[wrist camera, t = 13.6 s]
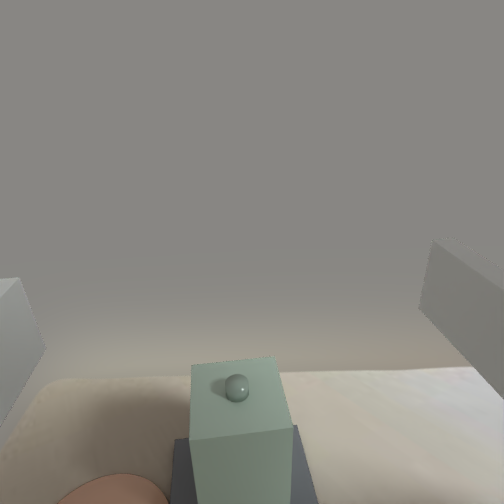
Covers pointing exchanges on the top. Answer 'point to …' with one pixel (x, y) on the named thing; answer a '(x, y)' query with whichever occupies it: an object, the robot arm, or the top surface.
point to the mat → (184, 482)
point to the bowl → (116, 491)
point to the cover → (240, 433)
